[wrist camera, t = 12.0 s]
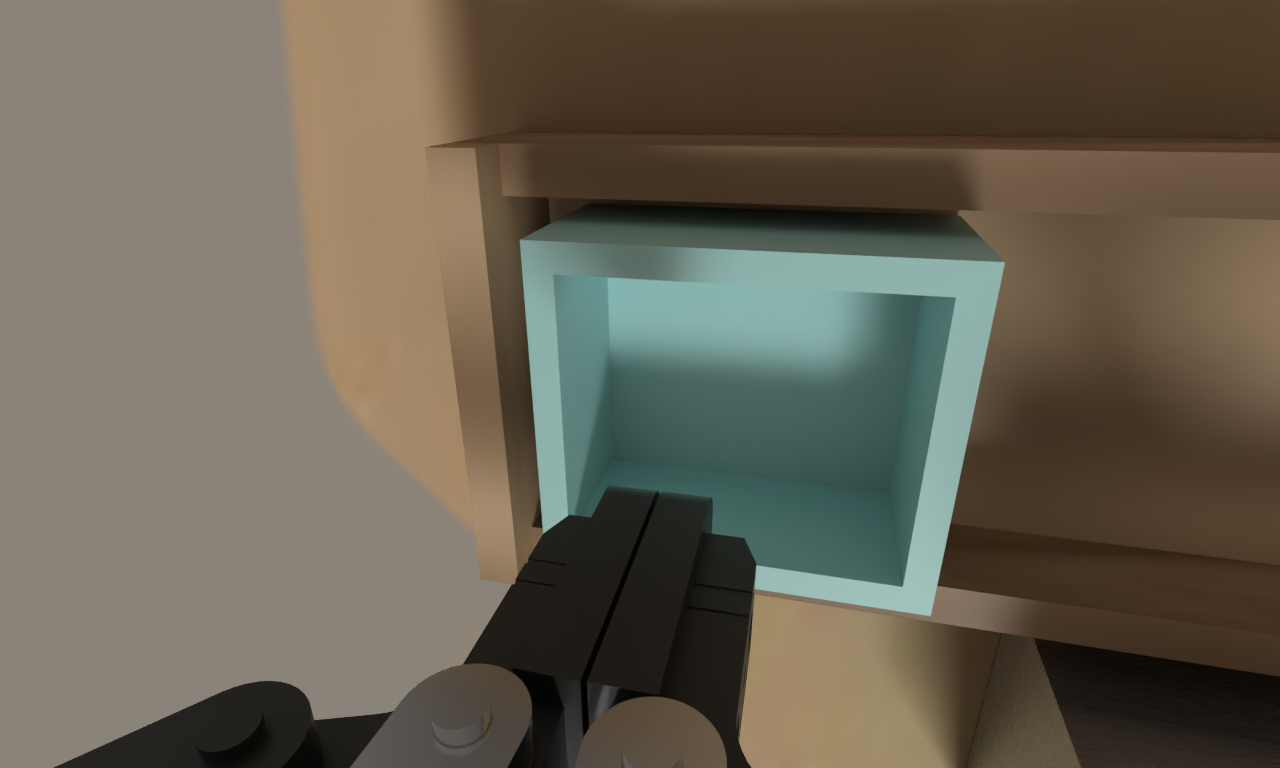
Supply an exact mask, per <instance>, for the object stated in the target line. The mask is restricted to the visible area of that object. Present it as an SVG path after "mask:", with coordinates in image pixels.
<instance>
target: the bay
mask: <svg viewBox="0 0 1280 768" xmlns="http://www.w3.org/2000/svg"><path fill="white" fill-rule="evenodd" d="M425 149H426V156H427V164H428V172H429V180H430V187H431V195H432V203H433V211H434V218H435V226H436V234H437V242H438V249H439V257H440V265H441V273H442V281H443V288H444V296H445V304H446V312H447V319H448V327H449V335H450V343H451V350H452V358H453V366H454V374H455V381H456V389H457V397H458V405H459V412H460V420H461V428H462V436H463V444H464V451H465V459H466V467H467V475H468V482H469V490H470V498H471V506H472V513H473V521H474V529H475V537H476V544H477V551H478V560H479V568H480V575H481V579H483V580H489V581H495V582H501V583H507V584H515V581H516V577H517V576H518V574H519V572H520V571H521V569H522V567H523V566H524V564H525V563H528V558H529V556H530V554H531V553H532V551H533V549H534V548H535V546H536V545H537V543H538V541H539V540H540V538H541V536H542V535H543V524H542V512H541V499H540V487H539V474H538V462H537V449H536V437H535V424H534V412H533V399H532V387H531V374H530V362H529V349H528V337H527V324H526V312H525V299H524V287H523V274H522V262H521V249H520V239H522V238H524V237H526V236H528V235H530V234H532V233H534V232H535V231H537V230H539V229H541V228H543V227H545V226H547V225H549V224H551V223H552V222H554V221H556V220H558V219H560V218H562V217H564V216H566V215H567V214H569V213H571V212H573V211H575V210H577V209H579V208H581V207H583V206H584V205H586V204H588V203H589V204H620V205H650V206H681V207H712V208H742V209H773V210H803V211H834V212H865V213H895V214H926V215H956V216H961V217H962V218H963V219H964V220H965V221H966V222H967V223H968V224H969V225H970V226H971V227H972V228H973V229H974V231H975V232H976V233H977V234H978V235H979V236H980V237H981V238H982V239H983V240H984V241H985V242H986V243H987V244H988V245H989V246H990V247H991V248H992V249H993V250H994V251H995V252H996V253H997V254H998V255H999V256H1000V257H1001V259H1002V260H1003V261H1004V262H1005V265H1004V270H1003V275H1002V279H1001V284H1000V289H999V294H998V298H997V303H996V308H995V313H994V317H993V322H992V327H991V332H990V337H989V341H988V346H987V351H986V356H985V360H984V365H983V370H982V375H981V379H980V384H979V389H978V394H977V398H976V403H975V408H974V413H973V417H972V422H971V427H970V432H969V437H968V441H967V446H966V451H965V456H964V460H963V465H962V470H961V475H960V479H959V484H958V489H957V494H956V498H955V503H954V508H953V513H952V518H951V522H950V527H949V532H948V537H947V541H946V546H945V551H944V556H943V560H942V565H941V570H940V575H939V579H938V584H937V589H936V594H935V598H934V603H933V608H932V613H931V616H926V615H920V614H913V613H907V612H900V611H894V610H887V609H881V608H874V607H868V606H862V605H855V604H849V603H842V602H836V601H829V600H823V599H816V598H810V597H804V596H797V595H791V594H784V593H778V592H771V591H765V590H758V589H755V591H754V594H757V595H763V596H770V597H776V598H783V599H789V600H795V601H802V602H808V603H814V604H821V605H827V606H834V607H840V608H846V609H853V610H859V611H865V612H872V613H878V614H885V615H891V616H897V617H904V618H910V619H916V620H923V621H929V622H936V623H942V624H948V625H955V626H961V627H967V628H974V629H980V630H987V631H993V632H999V633H1006V634H1012V635H1018V636H1025V637H1031V638H1038V639H1044V640H1050V641H1057V642H1063V643H1069V644H1076V645H1082V646H1089V647H1095V648H1101V649H1108V650H1114V651H1120V652H1127V653H1133V654H1140V655H1146V656H1152V657H1159V658H1165V659H1171V660H1178V661H1184V662H1191V663H1197V664H1203V665H1210V666H1216V667H1222V668H1229V669H1235V670H1242V671H1248V672H1254V673H1261V674H1267V675H1273V676H1280V139H1278V138H1161V137H1044V136H927V135H809V134H692V133H575V132H510V133H504V134H498V135H493V136H487V137H481V138H476V139H470V140H464V141H459V142H453V143H447V144H442V145H436V146H430V147H425Z"/></svg>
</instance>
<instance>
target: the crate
mask: <svg viewBox="0 0 1280 768" xmlns="http://www.w3.org/2000/svg"><path fill="white" fill-rule="evenodd" d="M520 249H521V262H522V274H523V287H524V299H525V312H526V324H527V337H528V349H529V362H530V374H531V387H532V399H533V412H534V424H535V437H536V449H537V462H538V474H539V487H540V499H541V512H542V524H543V533H545V532H546V531H548V530H549V529H550V528H552V527H553V526H554V525H556V524H557V523H559V522H560V521H561V520H563V519H564V518H566V517H567V516H568V515H576V516H584V517H592V515H593V513H594V511H595V509H596V507H597V505H598V504H599V502H600V500H601V498H602V496H603V494H604V492H605V490H606V489H607V487H608V486H610V485H612V486H620V487H628V488H636V489H645V490H653V491H659V493H661V492H670V493H679V494H687V495H695V496H703V497H711V498H712V501H713V517H712V534H719V535H726V536H734V537H741V538H745V540H746V542H747V545H748V547H749V549H750V551H751V553H752V555H753V557H754V559H755V561H756V564H757V565H756V578H755V589H758V590H765V591H771V592H778V593H784V594H791V595H797V596H804V597H810V598H816V599H823V600H829V601H836V602H842V603H849V604H855V605H862V606H868V607H874V608H881V609H887V610H894V611H900V612H907V613H913V614H920V615H926V616H931V613H932V608H933V603H934V598H935V594H936V589H937V584H938V579H939V575H940V570H941V565H942V560H943V556H944V551H945V546H946V541H947V537H948V532H949V527H950V522H951V518H952V513H953V508H954V503H955V498H956V494H957V489H958V484H959V479H960V475H961V470H962V465H963V460H964V456H965V451H966V446H967V441H968V437H969V432H970V427H971V422H972V417H973V413H974V408H975V403H976V398H977V394H978V389H979V384H980V379H981V375H982V370H983V365H984V360H985V356H986V351H987V346H988V341H989V337H990V332H991V327H992V322H993V317H994V313H995V308H996V303H997V298H998V294H999V289H1000V284H1001V279H1002V275H1003V270H1004V265H1005V262H1004V261H1003V260H1002V259H1001V257H1000V256H999V255H998V254H997V253H996V252H995V251H994V250H993V249H992V248H991V247H990V246H989V245H988V244H987V243H986V242H985V241H984V240H983V239H982V238H981V237H980V236H979V235H978V234H977V233H976V232H975V231H974V229H973V228H972V227H971V226H970V225H969V224H968V223H967V222H966V221H965V220H964V219H963V218H962V217H961V216H956V215H926V214H895V213H865V212H834V211H803V210H773V209H742V208H712V207H681V206H650V205H620V204H589V203H588V204H586V205H584V206H583V207H581V208H579V209H577V210H575V211H573V212H571V213H569V214H567V215H566V216H564V217H562V218H560V219H558V220H556V221H554V222H552V223H551V224H549V225H547V226H545V227H543V228H541V229H539V230H537V231H535V232H534V233H532V234H530V235H528V236H526V237H524V238H522V239H520Z"/></svg>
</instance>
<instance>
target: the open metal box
mask: <svg viewBox="0 0 1280 768" xmlns="http://www.w3.org/2000/svg"><path fill="white" fill-rule="evenodd" d="M966 768H1280V676H1273V675H1267V674H1261V673H1254V672H1248V671H1242V670H1235V669H1229V668H1222V667H1216V666H1210V665H1203V664H1197V663H1191V662H1184V661H1178V660H1171V659H1165V658H1159V657H1152V656H1146V655H1140V654H1133V653H1127V652H1120V651H1114V650H1108V649H1101V648H1095V647H1089V646H1082V645H1076V644H1069V643H1063V642H1057V641H1050V640H1044V639H1038V638H1031V637H1025V636H1018V635H1012V634H1006V633H1002V635H1001V639H1000V643H999V646H998V650H997V654H996V657H995V661H994V665H993V669H992V672H991V676H990V680H989V684H988V687H987V691H986V695H985V699H984V702H983V706H982V710H981V714H980V717H979V721H978V725H977V728H976V732H975V736H974V740H973V743H972V747H971V751H970V755H969V758H968V762H967V766H966Z"/></svg>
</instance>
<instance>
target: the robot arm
mask: <svg viewBox="0 0 1280 768" xmlns="http://www.w3.org/2000/svg"><path fill="white" fill-rule="evenodd" d="M712 517H713V501H712V498H711V497H703V496H695V495H687V494H679V493H670V492H661V493H659V491H653V490H645V489H636V488H628V487H620V486H612V485H610V486H608V487H607V489H606V490H605V492H604V494H603V496H602V498H601V500H600V502H599V504H598V505H597V507H596V509H595V511H594V513H593V515H592V517H584V516H576V515H568V516H567V517H566V518H564V519H563V520H561V521H560V522H559V523H557V524H556V525H554V526H553V527H552V528H550V529H549V530H548V531H546V532H545V533H543V535H542V536H541V538H540V540H539V541H538V543H537V545H536V546H535V548H534V549H533V551H532V553H531V554H530V556H529V558H528V563H525V564H524V566H523V567H522V569H521V571H520V572H519V574H518V576H517V577H516V581H515V584H512V585H511V587H510V589H509V590H508V592H507V594H506V595H505V597H504V599H503V600H502V602H501V603H500V605H499V607H498V608H497V610H496V611H495V613H494V615H493V616H492V618H491V620H490V621H489V623H488V625H487V626H486V628H485V629H484V631H483V633H482V634H481V636H480V638H479V639H478V641H477V642H476V644H475V646H474V647H473V649H472V651H471V652H470V654H469V656H468V657H467V659H466V660H465V662H464V664H463V665H460V666H455V667H451V668H448V669H445V670H442V671H440V672H438V673H436V674H434V675H432V676H430V677H428V678H427V679H425V680H424V681H422V682H421V683H419V684H418V685H417V686H416V687H415V688H413V689H412V690H411V691H410V692H409V693H408V694H407V695H406V697H405V698H404V699H403V700H402V701H401V702H400V704H399V705H398V706H397V708H396V709H395V710H394V711H392V712H388V713H382V714H375V715H364V716H354V717H344V718H333V719H323V720H314V718H313V714H312V710H311V707H310V703H309V700H308V699H307V697H306V696H305V694H304V693H303V692H302V691H301V690H299V689H298V688H296V687H294V686H292V685H290V684H287V683H283V682H276V681H261V682H254V683H248V684H244V685H240V686H237V687H234V688H231V689H228V690H226V691H223V692H221V693H219V694H217V695H214V696H212V697H210V698H208V699H205V700H203V701H201V702H199V703H196V704H194V705H192V706H190V707H187V708H185V709H183V710H181V711H179V712H176V713H174V714H172V715H170V716H167V717H165V718H163V719H161V720H159V721H157V722H154V723H152V724H150V725H147V726H145V727H143V728H141V729H139V730H136V731H134V732H132V733H130V734H127V735H125V736H123V737H121V738H119V739H116V740H114V741H112V742H110V743H107V744H105V745H103V746H101V747H99V748H97V749H94V750H92V751H90V752H88V753H85V754H83V755H81V756H79V757H77V758H74V759H72V760H70V761H68V762H65V763H63V764H61V765H59V766H56V767H54V768H751V766H750V765H749V764H748V762H747V760H746V758H745V756H744V754H743V752H742V750H741V747H740V744H739V736H740V728H741V720H742V711H743V704H744V695H745V687H746V679H747V671H748V663H749V654H750V644H751V631H752V618H753V605H754V591H755V578H756V565H757V564H756V561H755V559H754V557H753V555H752V553H751V551H750V549H749V547H748V545H747V542H746V540H745V538H741V537H734V536H726V535H719V534H712Z"/></svg>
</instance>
